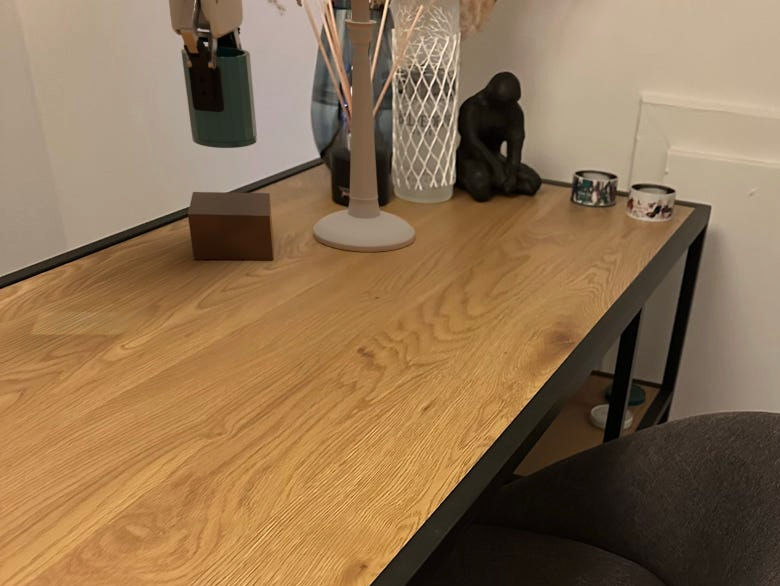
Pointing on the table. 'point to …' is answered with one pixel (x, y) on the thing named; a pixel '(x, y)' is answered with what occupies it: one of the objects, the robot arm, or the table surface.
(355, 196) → the candlestick
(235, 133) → the cup
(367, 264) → the table surface
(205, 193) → the block
